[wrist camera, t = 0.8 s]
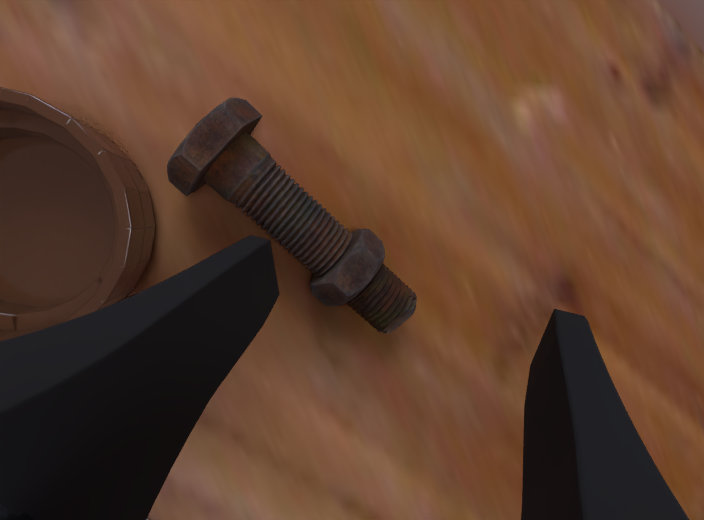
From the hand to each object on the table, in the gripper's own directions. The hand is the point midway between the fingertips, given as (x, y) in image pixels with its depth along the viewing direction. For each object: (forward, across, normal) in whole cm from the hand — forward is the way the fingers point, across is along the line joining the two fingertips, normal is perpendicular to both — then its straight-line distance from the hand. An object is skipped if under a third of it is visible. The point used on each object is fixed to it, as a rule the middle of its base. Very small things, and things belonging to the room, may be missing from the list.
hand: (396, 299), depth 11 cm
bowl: (+4, +21, +5) cm, 22 cm away
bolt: (+11, +9, +8) cm, 16 cm away
